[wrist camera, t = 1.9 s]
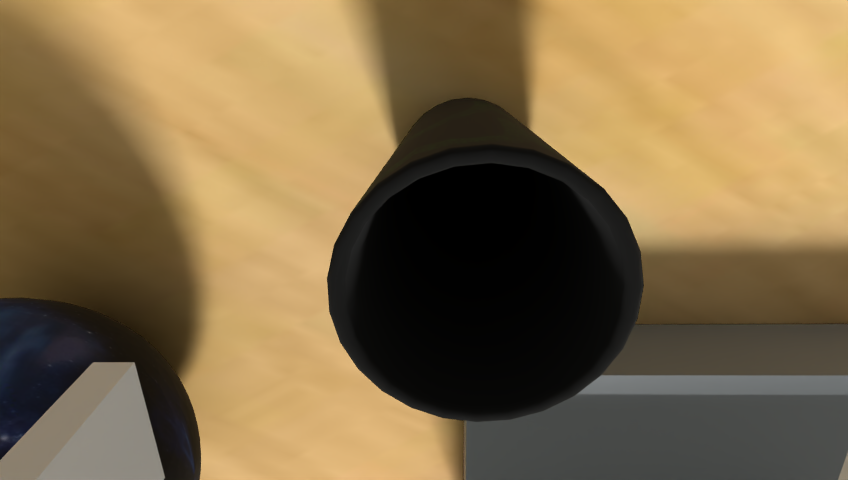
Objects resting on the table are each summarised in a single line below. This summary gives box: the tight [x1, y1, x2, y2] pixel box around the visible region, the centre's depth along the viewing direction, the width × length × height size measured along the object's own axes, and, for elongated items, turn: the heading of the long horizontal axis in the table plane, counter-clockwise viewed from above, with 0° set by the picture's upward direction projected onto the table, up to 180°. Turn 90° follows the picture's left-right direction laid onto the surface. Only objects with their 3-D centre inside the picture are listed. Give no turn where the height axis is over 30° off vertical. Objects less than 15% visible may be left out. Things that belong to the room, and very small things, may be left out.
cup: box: [327, 98, 644, 422], centre depth 19 cm, size 8×8×12 cm
